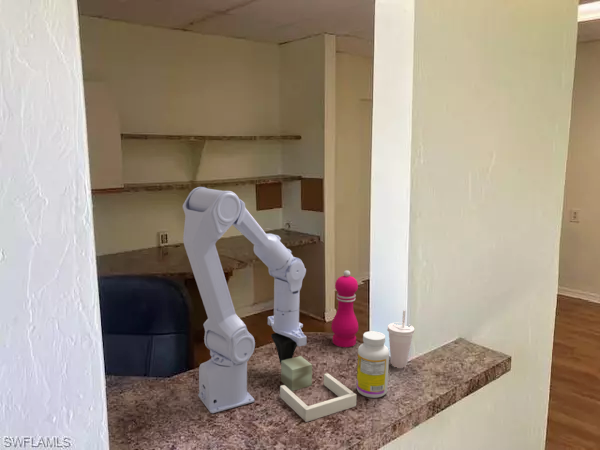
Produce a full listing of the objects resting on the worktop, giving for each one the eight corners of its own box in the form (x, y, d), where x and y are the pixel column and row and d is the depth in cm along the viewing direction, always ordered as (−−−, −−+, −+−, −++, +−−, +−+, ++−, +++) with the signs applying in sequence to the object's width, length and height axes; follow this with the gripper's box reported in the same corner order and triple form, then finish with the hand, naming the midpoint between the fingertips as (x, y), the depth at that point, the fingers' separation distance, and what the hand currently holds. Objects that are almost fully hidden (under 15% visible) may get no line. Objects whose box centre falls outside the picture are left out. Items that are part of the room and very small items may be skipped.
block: (292, 391, 105) (292, 369, 104) (280, 381, 110) (281, 360, 109) (311, 385, 108) (312, 364, 107) (300, 376, 112) (300, 355, 111)
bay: (306, 422, 94) (306, 410, 93) (280, 397, 103) (280, 385, 102) (356, 406, 100) (356, 394, 99) (327, 383, 109) (327, 373, 108)
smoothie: (405, 373, 114) (408, 316, 112) (380, 365, 118) (383, 310, 116) (416, 364, 119) (420, 309, 117) (392, 356, 123) (395, 303, 121)
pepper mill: (329, 346, 128) (331, 273, 125) (332, 336, 135) (334, 266, 132) (357, 349, 127) (360, 275, 124) (358, 338, 134) (361, 267, 131)
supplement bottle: (365, 380, 111) (367, 326, 108) (392, 389, 107) (395, 334, 105) (350, 392, 105) (353, 336, 103) (378, 402, 101) (381, 344, 99)
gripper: (319, 314, 106) (317, 373, 108) (286, 296, 118) (285, 348, 121) (290, 320, 102) (289, 380, 105) (260, 300, 115) (259, 354, 117)
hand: (285, 364), depth 112 cm, fingers closed
